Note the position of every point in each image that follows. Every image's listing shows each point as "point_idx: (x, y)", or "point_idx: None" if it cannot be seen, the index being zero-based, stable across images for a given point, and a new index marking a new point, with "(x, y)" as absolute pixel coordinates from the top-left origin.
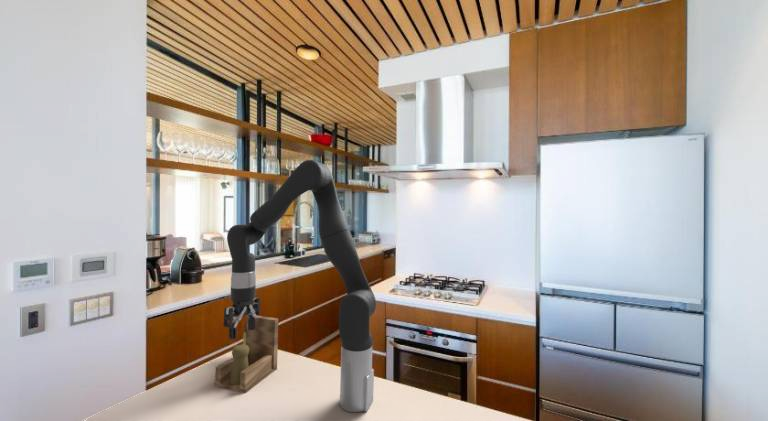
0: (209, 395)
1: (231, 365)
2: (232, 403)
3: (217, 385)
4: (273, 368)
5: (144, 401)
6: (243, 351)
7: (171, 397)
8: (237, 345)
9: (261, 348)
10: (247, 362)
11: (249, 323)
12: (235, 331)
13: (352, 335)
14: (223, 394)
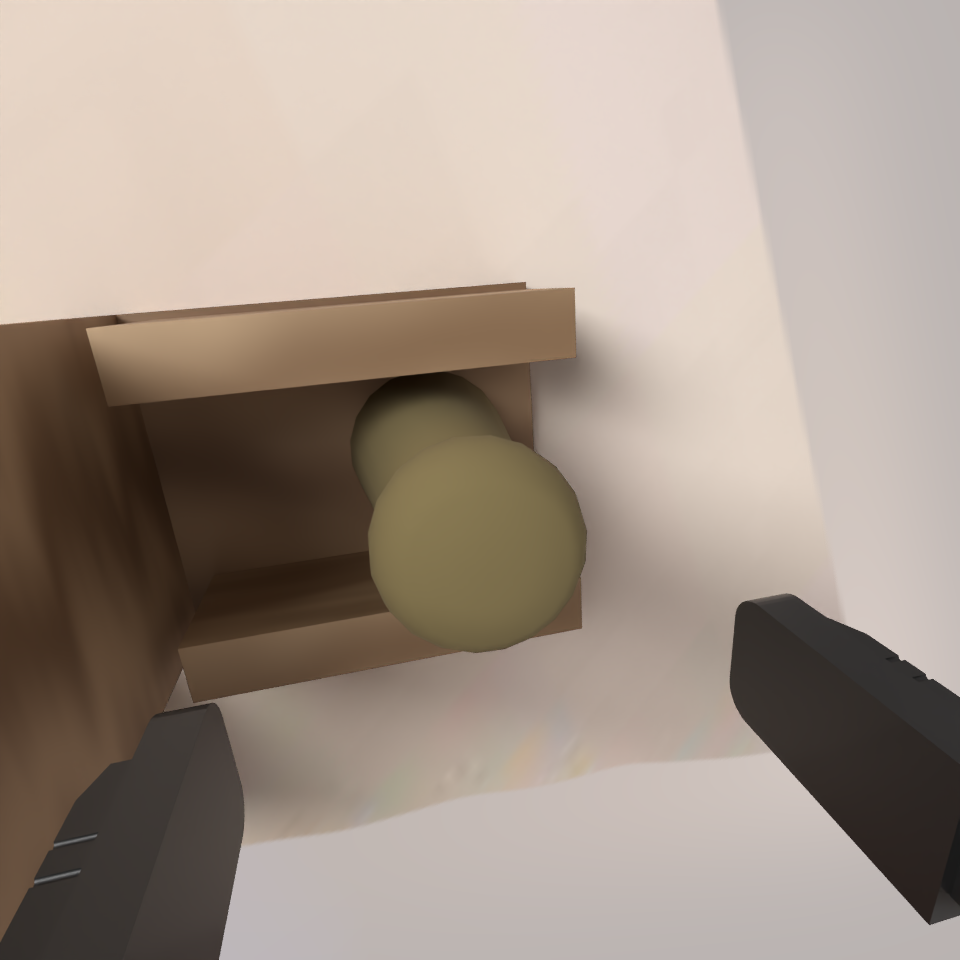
0: (626, 492)
1: None
2: (652, 269)
3: None
4: (114, 317)
5: None
6: (533, 460)
7: (704, 654)
8: (482, 639)
9: (77, 536)
10: (419, 427)
11: (206, 940)
12: (914, 688)
13: None
14: (588, 420)
